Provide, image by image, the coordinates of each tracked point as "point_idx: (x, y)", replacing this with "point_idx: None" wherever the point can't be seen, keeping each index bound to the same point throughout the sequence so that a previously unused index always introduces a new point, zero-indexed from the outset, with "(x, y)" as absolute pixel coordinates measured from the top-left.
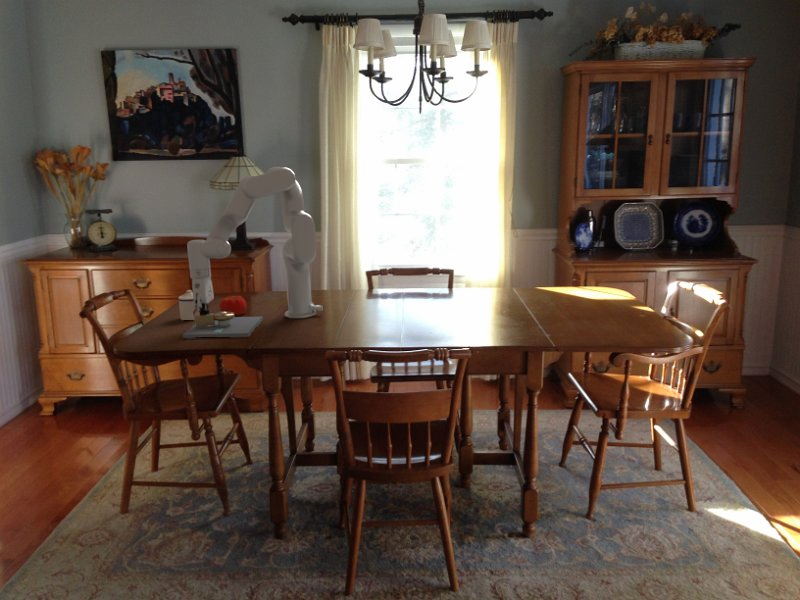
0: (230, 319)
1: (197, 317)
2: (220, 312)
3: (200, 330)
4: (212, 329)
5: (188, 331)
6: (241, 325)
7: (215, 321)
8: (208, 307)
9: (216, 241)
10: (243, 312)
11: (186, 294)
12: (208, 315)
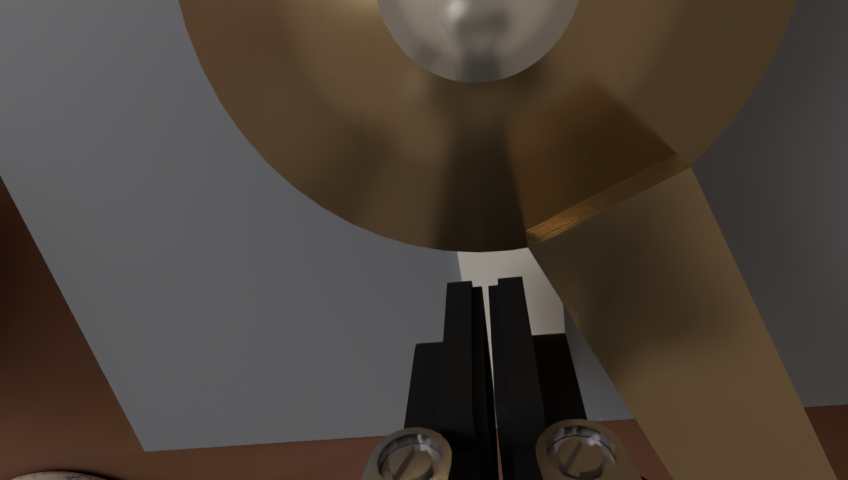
0: (83, 29)
1: (815, 442)
2: (521, 53)
3: (813, 245)
4: (787, 68)
5: (834, 382)
6: None
7: (266, 232)
8: (398, 466)
9: None
10: None
11: None
12: (743, 279)
